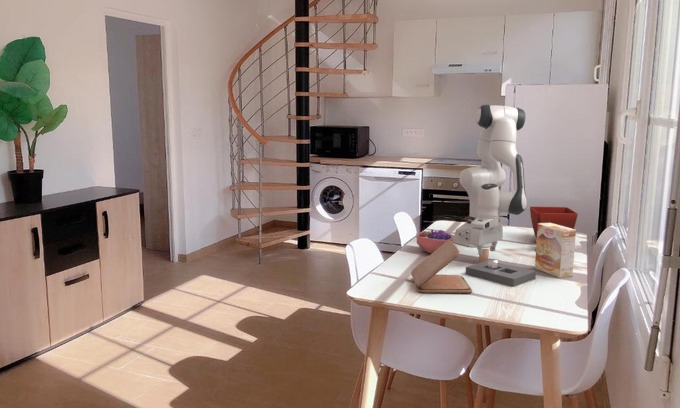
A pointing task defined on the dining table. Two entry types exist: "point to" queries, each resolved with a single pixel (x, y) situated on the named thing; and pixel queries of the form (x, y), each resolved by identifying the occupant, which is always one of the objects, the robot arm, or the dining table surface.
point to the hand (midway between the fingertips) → (486, 252)
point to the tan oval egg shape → (484, 256)
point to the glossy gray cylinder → (493, 264)
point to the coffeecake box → (555, 249)
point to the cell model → (433, 240)
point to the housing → (501, 273)
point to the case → (432, 265)
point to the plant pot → (553, 216)
